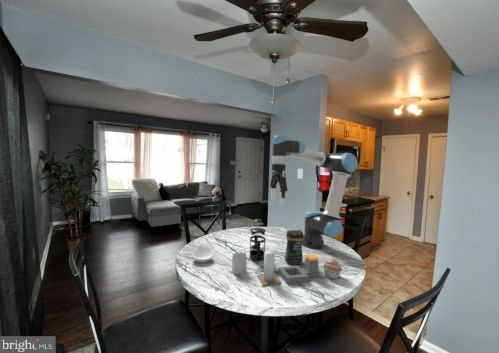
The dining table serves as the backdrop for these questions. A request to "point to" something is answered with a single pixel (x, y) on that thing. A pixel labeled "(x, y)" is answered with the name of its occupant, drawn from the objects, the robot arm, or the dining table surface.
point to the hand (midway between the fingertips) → (277, 201)
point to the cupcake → (332, 268)
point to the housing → (299, 272)
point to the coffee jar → (294, 247)
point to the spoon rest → (203, 252)
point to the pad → (266, 283)
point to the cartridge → (269, 265)
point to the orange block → (311, 258)
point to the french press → (257, 244)
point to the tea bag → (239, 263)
